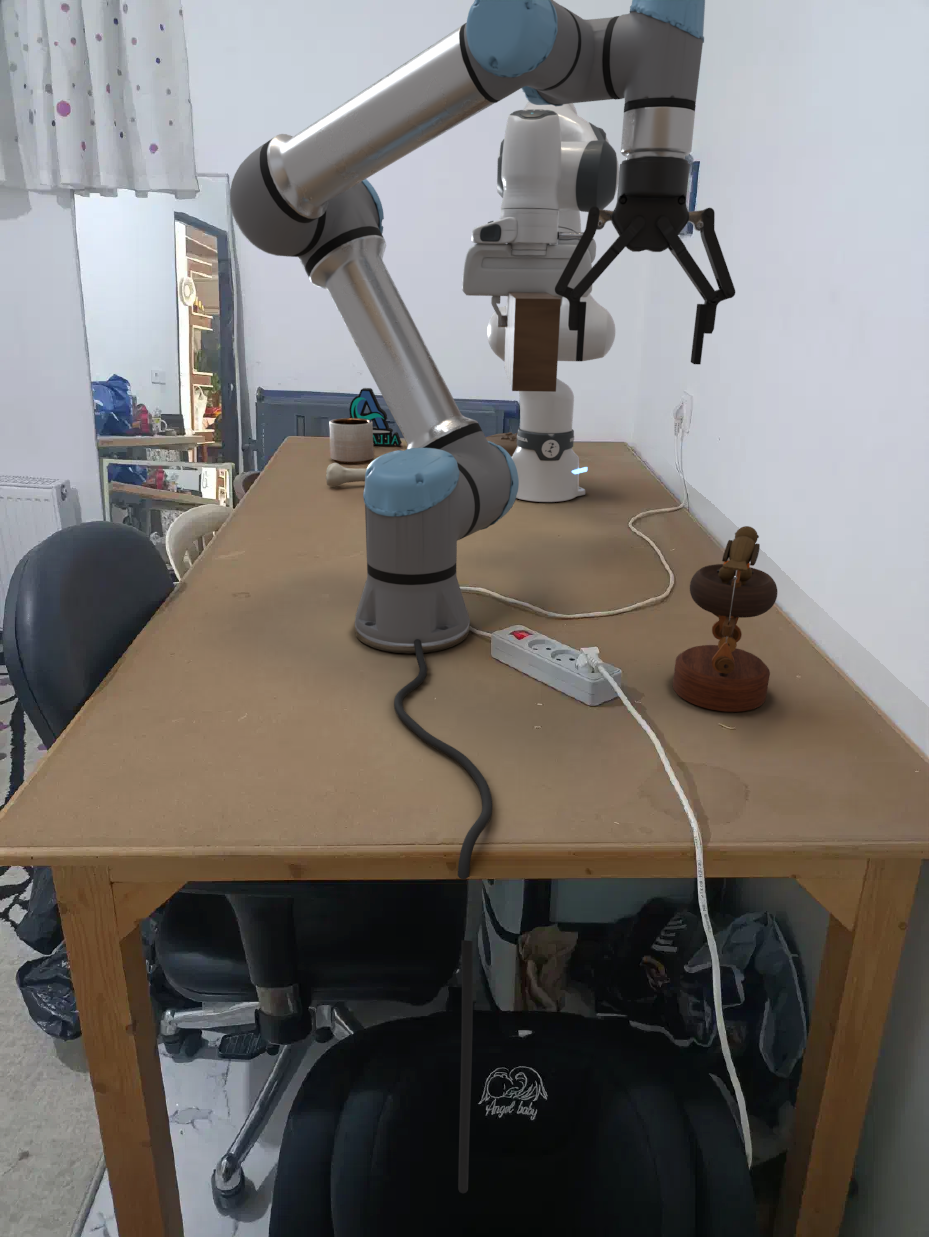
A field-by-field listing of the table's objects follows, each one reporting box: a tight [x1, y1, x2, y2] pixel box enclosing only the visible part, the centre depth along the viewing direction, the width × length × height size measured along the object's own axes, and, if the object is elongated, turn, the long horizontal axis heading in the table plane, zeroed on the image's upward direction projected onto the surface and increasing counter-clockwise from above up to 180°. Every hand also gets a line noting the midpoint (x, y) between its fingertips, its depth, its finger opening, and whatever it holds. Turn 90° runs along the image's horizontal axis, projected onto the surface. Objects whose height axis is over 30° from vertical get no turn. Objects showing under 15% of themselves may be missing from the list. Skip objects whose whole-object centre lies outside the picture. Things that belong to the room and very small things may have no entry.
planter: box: [328, 417, 375, 464], centre depth 212 cm, size 11×11×10 cm
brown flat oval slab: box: [485, 431, 518, 457], centre depth 221 cm, size 21×28×4 cm
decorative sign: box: [348, 387, 402, 447], centre depth 230 cm, size 19×2×15 cm, turn 86°
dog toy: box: [325, 462, 367, 487], centre depth 188 cm, size 20×6×5 cm, turn 99°
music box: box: [672, 525, 778, 713], centre depth 95 cm, size 15×11×20 cm
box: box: [503, 292, 561, 392], centre depth 125 cm, size 26×6×12 cm, turn 0°
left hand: (636, 362), depth 100 cm, fingers open, 13 cm apart
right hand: (524, 327), depth 134 cm, fingers closed on box, 6 cm apart
